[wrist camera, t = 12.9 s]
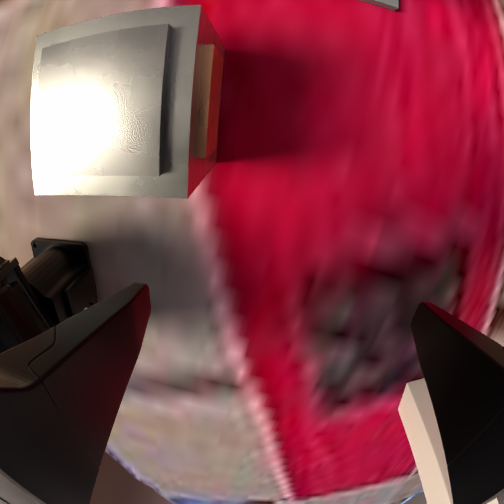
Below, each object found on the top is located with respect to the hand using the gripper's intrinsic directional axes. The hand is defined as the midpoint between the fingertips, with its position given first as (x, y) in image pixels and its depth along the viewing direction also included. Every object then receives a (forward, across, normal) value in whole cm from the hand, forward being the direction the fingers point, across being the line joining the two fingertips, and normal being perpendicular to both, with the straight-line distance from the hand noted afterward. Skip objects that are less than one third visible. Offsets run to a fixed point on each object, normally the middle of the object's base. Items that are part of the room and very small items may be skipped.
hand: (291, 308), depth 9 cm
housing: (+13, +8, -6) cm, 16 cm away
